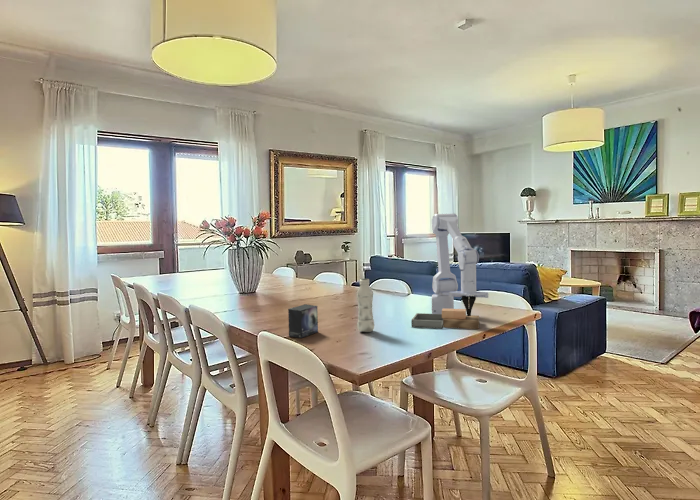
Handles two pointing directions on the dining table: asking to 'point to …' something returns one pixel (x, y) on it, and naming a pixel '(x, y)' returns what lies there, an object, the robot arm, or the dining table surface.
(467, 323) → the board
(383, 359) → the dining table surface
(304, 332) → the small box
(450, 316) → the tan square block
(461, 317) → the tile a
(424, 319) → the tray
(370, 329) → the plastic bottle
